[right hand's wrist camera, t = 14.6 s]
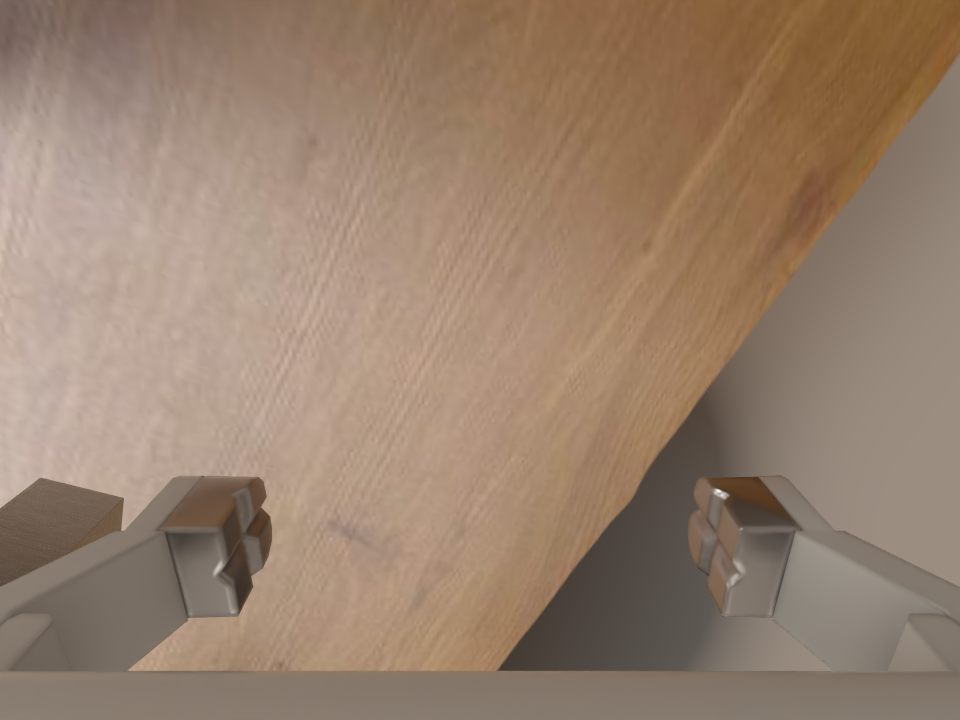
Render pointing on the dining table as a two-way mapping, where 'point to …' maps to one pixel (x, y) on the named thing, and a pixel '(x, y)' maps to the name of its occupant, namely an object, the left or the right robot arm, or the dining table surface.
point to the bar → (52, 525)
